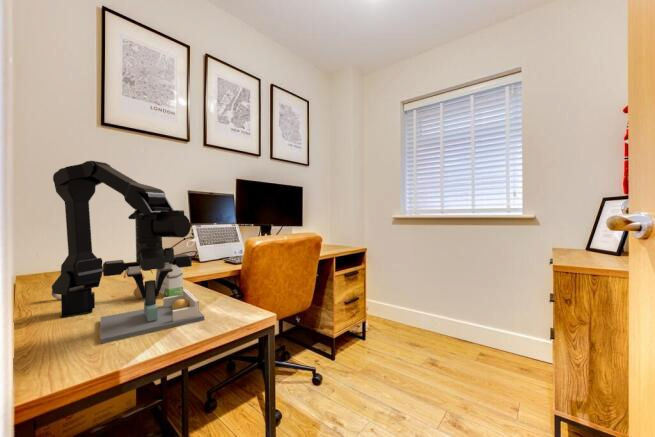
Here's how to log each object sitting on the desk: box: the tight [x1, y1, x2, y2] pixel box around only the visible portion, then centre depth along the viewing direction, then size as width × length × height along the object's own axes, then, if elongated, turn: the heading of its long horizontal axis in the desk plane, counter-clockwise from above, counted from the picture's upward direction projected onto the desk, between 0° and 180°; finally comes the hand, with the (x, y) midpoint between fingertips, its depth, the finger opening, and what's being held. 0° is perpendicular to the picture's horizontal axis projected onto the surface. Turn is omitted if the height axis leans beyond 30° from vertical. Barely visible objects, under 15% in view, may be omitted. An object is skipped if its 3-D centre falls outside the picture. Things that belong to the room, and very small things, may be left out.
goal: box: [162, 288, 200, 322], centre depth 77 cm, size 6×14×4 cm, turn 39°
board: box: [100, 305, 205, 344], centre depth 72 cm, size 21×16×1 cm
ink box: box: [159, 265, 184, 297], centre depth 96 cm, size 9×5×12 cm, turn 48°
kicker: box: [143, 279, 158, 322], centre depth 72 cm, size 2×8×9 cm, turn 39°
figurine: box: [123, 269, 154, 299], centre depth 91 cm, size 8×6×12 cm
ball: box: [172, 299, 189, 310], centre depth 77 cm, size 4×4×4 cm
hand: (150, 297), depth 72 cm, fingers closed on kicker, 2 cm apart
